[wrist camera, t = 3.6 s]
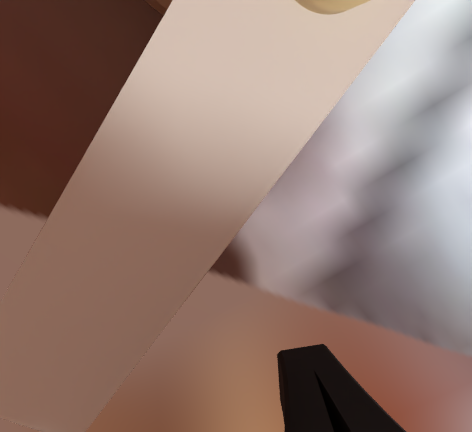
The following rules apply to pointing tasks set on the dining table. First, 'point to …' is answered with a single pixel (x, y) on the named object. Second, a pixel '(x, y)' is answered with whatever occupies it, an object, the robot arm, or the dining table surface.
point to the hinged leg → (171, 189)
